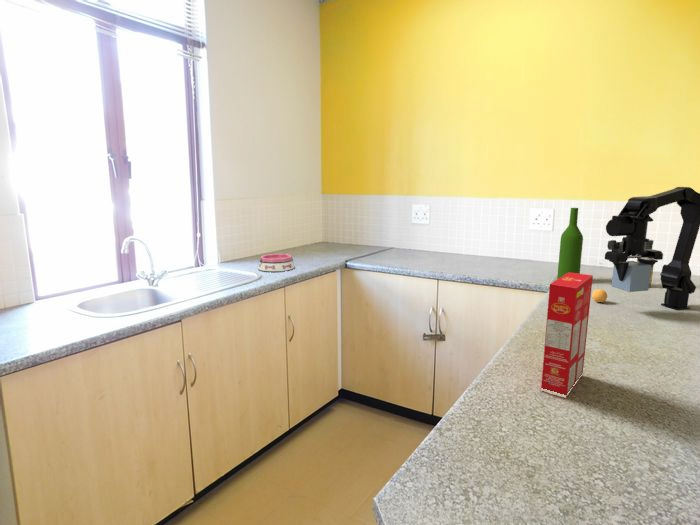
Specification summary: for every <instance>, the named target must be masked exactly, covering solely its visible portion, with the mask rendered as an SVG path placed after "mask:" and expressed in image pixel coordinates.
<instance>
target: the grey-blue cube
mask: <svg viewBox="0 0 700 525" xmlns="http://www.w3.org/2000/svg"><path fill="white" fill-rule="evenodd" d="M626 262H629V265H628V268H627V271H626V274H625V277H624V279H623V281H620V280H619V277H618V274H617V270H616V267H615V265H614V264H613V269H612V270H613V271H612V280H611V288H615V289H618V290H621V291H625V292H628V293H633V292H634V293H636V292H647V291H649V288H650V287H649V281H650V273H651V265H649V264H644V263H640V262H637V260H636V261H635V260H627V261H626Z"/></svg>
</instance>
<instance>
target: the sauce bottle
mask: <svg viewBox="0 0 700 525" xmlns="http://www.w3.org/2000/svg"><path fill="white" fill-rule="evenodd" d="M653 245H654V240H653V239H649V242H645V249H653ZM636 262H639V261H638V259H637V258H636ZM654 266H655V264H654V265H653V266H652V267H651V273H650V281H649V288H650V287H651V285H652V281H653V274H654V273H653V272H654Z"/></svg>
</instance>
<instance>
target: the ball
mask: <svg viewBox="0 0 700 525" xmlns="http://www.w3.org/2000/svg"><path fill="white" fill-rule="evenodd" d="M591 297H592V300H593V301H594V302H596V303H599V302H601V303H603V302H605V301H607V299H608V294H607V292H606V291H605V290H604V289H602V288H601V289H600V288H598V289H595V290H593V292H592V293H591Z"/></svg>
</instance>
